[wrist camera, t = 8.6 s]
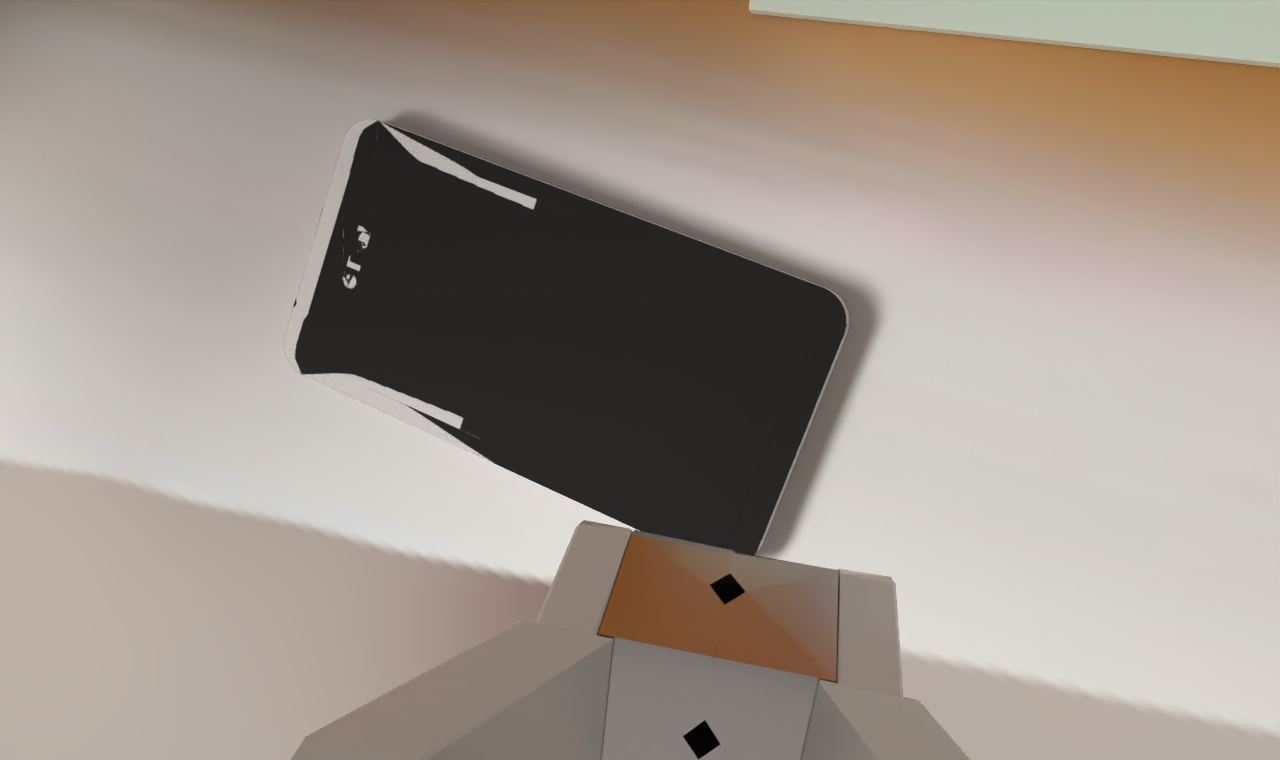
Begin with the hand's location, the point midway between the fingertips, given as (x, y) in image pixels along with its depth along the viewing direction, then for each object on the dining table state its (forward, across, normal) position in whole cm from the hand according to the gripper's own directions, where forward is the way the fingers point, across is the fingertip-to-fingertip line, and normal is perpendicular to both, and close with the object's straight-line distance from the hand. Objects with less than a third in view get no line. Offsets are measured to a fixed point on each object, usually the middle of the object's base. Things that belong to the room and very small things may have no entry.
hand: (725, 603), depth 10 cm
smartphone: (+18, -6, -6) cm, 20 cm away
